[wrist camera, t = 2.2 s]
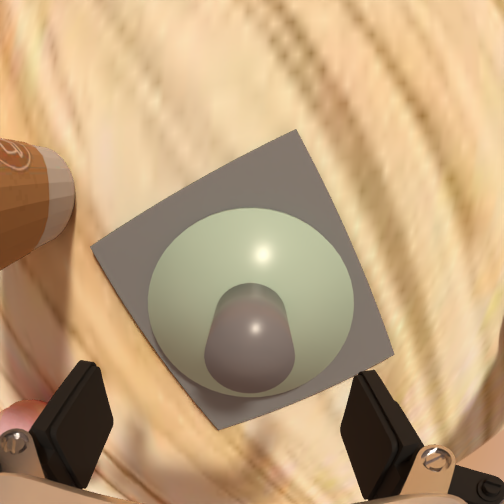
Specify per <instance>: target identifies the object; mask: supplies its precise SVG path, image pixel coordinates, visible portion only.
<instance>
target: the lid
mask: <svg viewBox="0 0 504 504" xmlns="http://www.w3.org/2000/svg"><path fill="white" fill-rule="evenodd" d="M353 311H354V295H353V288H352V283H351V279H350V276H349V274H348V271H347V268H346V266H345V264H344V262H343V260H342V259H341V257H340V255H339V254H338V253H337V251H336V250H335V248H334V247H333V246H332V245H331V244H330V243H329V242H328V241H327V240H326V239H325V238H324V237H323V236H322V235H321V234H320V233H319V232H318V231H317V230H315V229H314V228H313V227H311V226H310V225H309V224H307V223H305V222H304V221H302V220H300V219H298V218H296V217H294V216H292V215H289V214H287V213H284V212H281V211H277V210H272V209H267V208H258V207H243V208H235V209H229V210H224V211H221V212H218V213H215V214H212V215H210V216H207V217H205V218H203V219H201V220H199V221H198V222H196V223H195V224H193V225H191V226H190V227H188V228H187V229H186V230H185V231H184V232H182V233H181V234H180V235H179V236H178V237H177V238H176V239H174V241H173V242H172V243H171V244H170V245H169V246H168V247H167V249H166V250H165V251H164V253H163V254H162V256H161V258H160V259H159V261H158V263H157V265H156V267H155V270H154V272H153V274H152V278H151V282H150V285H149V293H148V313H149V319H150V324H151V327H152V330H153V334H154V336H155V338H156V340H157V342H158V344H159V346H160V348H161V349H162V351H163V352H164V354H165V355H166V357H167V358H168V359H169V360H170V362H171V363H172V364H173V365H174V366H175V367H176V368H177V369H178V370H179V371H180V372H182V373H183V374H184V375H186V376H187V377H188V378H190V379H191V380H193V381H194V382H196V383H198V384H200V385H201V386H204V387H206V388H208V389H210V390H213V391H216V392H219V393H222V394H227V395H232V396H238V397H264V396H272V395H276V394H280V393H284V392H287V391H289V390H292V389H295V388H297V387H299V386H301V385H303V384H305V383H307V382H308V381H310V380H311V379H313V378H314V377H316V376H317V375H318V374H319V373H321V372H322V371H323V370H324V369H325V368H326V367H327V366H328V365H329V364H330V363H331V362H332V361H333V360H334V358H335V357H336V356H337V354H338V353H339V351H340V350H341V348H342V346H343V344H344V343H345V341H346V338H347V336H348V333H349V331H350V327H351V323H352V319H353Z"/></svg>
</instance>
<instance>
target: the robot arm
mask: <svg viewBox="0 0 504 504" xmlns="http://www.w3.org/2000/svg"><path fill="white" fill-rule="evenodd" d="M112 427H113V416H112V412H111V409H110V405H109V402H108V398H107V394H106V390H105V387H104V383H103V378H102V374H101V370H100V368H99V367H97V366H96V364H95V363H94V362H89V361H83V360H80V361H79V362H78V363H77V365H76V366H75V367H74V369H73V370H72V371H71V372H70V374H69V375H68V376H67V378H66V379H65V380H64V382H63V383H62V385H61V386H60V387H59V389H58V390H57V391H56V393H55V394H54V395H53V397H52V398H51V400H50V401H49V402H48V404H47V405H46V406H45V408H44V409H43V411H42V412H41V414H40V415H39V416H38V418H37V419H36V421H35V422H34V424H33V425H32V426H31V429H30V430H29V431H28V432H27V431H25V430H23V429H19V428H15V429H10V430H7V431H5V432H4V433H2V435H1V436H0V504H144V503H138V502H133V501H128V500H123V499H118V498H114V497H109V496H105V495H101V494H97V493H93V492H89V491H86V490H82V489H83V488H84V489H85V488H86V487H87V486H88V483H89V481H90V479H91V476H92V474H93V471H94V469H95V466H96V464H97V462H98V459H99V457H100V455H101V452H102V450H103V448H104V445H105V443H106V441H107V438H108V436H109V434H110V431H111V429H112ZM340 432H341V436H342V439H343V442H344V445H345V448H346V450H347V453H348V456H349V459H350V462H351V464H352V467H353V470H354V473H355V476H356V479H357V482H358V485H359V487H360V490H361V493H362V496H363V498H364V499H365V500H366V499H368V501H365V502H359V503H353V504H504V482H503V481H502V480H501V479H500V478H498V477H496V476H493V475H489V474H486V473H482V472H478V471H474V470H471V469H468V468H465V467H461V466H458V465H455V464H456V459H455V456H454V454H453V453H452V451H451V450H449V449H448V448H447V447H444V446H442V445H436V444H434V445H428V446H425V447H424V445H423V443H422V442H421V440H420V438H419V437H418V435H417V433H416V432H415V430H414V428H413V427H412V425H411V423H410V422H409V420H408V419H407V417H406V415H405V414H404V412H403V410H402V409H401V407H400V406H399V404H398V403H397V402H396V401H394V400H393V398H392V396H391V395H390V393H389V391H388V390H387V388H386V387H385V385H384V383H383V382H382V380H381V379H380V377H379V376H378V374H377V372H376V371H375V370H369V371H360V372H359V373H358V375H356V376H354V378H353V382H352V386H351V390H350V394H349V398H348V401H347V405H346V409H345V412H344V416H343V419H342V423H341V427H340Z"/></svg>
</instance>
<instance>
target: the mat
mask: <svg viewBox="0 0 504 504" xmlns="http://www.w3.org/2000/svg"><path fill="white" fill-rule="evenodd" d="M243 207H258V208H267V209H272V210H277V211H281V212H284V213H287V214H289V215H292V216H294V217H296V218H298V219H300V220H302V221H304V222H305V223H307V224H309V225H310V226H311V227H313V228H314V229H315V230H317V231H318V232H319V233H320V234H321V235H322V236H323V237H324V238H325V239H326V240H327V241H328V242H329V243H330V244H331V245H332V246H333V247H334V248H335V250H336V251H337V253H338V254H339V255H340V257H341V259H342V260H343V262H344V264H345V266H346V268H347V271H348V274H349V276H350V279H351V283H352V288H353V295H354V311H353V319H352V323H351V327H350V331H349V333H348V336H347V338H346V341H345V343H344V344H343V346H342V348H341V350H340V351H339V353H338V354H337V356H336V357H335V358H334V360H333V361H332V362H331V363H330V364H329V365H328V366H327V367H326V368H325V369H324V370H323V371H322V372H321V373H319V374H318V375H317V376H316V377H314V378H313V379H311V380H310V381H308V382H307V383H305V384H303V385H301V386H299V387H297V388H295V389H292V390H289V391H287V392H284V393H280V394H276V395H272V396H264V397H238V396H232V395H227V394H222V393H219V392H216V391H213V390H210V389H208V388H206V387H204V386H201V385H200V384H198V383H196V382H194V381H193V380H191V379H190V378H188V377H187V376H186V375H184V374H183V373H182V372H180V371H179V370H178V369H177V368H176V367H175V366H174V365H173V364H172V363H171V362H170V360H169V359H168V358H167V357H166V355H165V354H164V352H163V351H162V349H161V348H160V346H159V344H158V342H157V340H156V338H155V336H154V334H153V330H152V327H151V324H150V319H149V313H148V293H149V285H150V282H151V278H152V274H153V272H154V270H155V267H156V265H157V263H158V261H159V259H160V258H161V256H162V254H163V253H164V251H165V250H166V249H167V247H168V246H169V245H170V244H171V243H172V242H173V241H174V239H176V238H177V237H178V236H179V235H180V234H181V233H182V232H184V231H185V230H186V229H187V228H188V227H190V226H191V225H193V224H195V223H196V222H198V221H199V220H201V219H203V218H205V217H207V216H210V215H212V214H215V213H218V212H221V211H224V210H229V209H235V208H243ZM90 248H91V249H92V251H93V253H94V255H95V256H96V258H97V260H98V262H99V264H100V265H101V267H102V269H103V270H104V272H105V274H106V275H107V277H108V279H109V281H110V282H111V284H112V285H113V287H114V289H115V290H116V292H117V294H118V295H119V297H120V298H121V300H122V302H123V303H124V305H125V306H126V308H127V309H128V311H129V313H130V314H131V316H132V317H133V319H134V320H135V322H136V323H137V325H138V326H139V328H140V329H141V331H142V332H143V333H144V335H145V336H146V338H147V339H148V341H149V342H150V344H151V345H152V346H153V348H154V349H155V351H156V352H157V353H158V355H159V356H160V358H161V359H162V360H163V362H164V363H165V364H166V366H167V367H168V368H169V370H170V371H171V372H172V374H173V375H174V376H175V378H176V379H177V380H178V382H179V383H180V384H181V385H182V387H183V388H184V389H185V391H186V392H187V393H188V394H189V396H190V397H191V398H192V399H193V401H194V402H195V403H196V404H197V405H198V407H199V408H200V409H201V410H202V411H203V413H204V414H205V415H206V416H207V417H208V419H209V420H210V421H211V422H212V423H213V424H214V426H215V427H216V428H217V429H218V430H220V429H223V428H227V427H230V426H233V425H236V424H239V423H242V422H245V421H247V420H250V419H253V418H256V417H259V416H261V415H264V414H267V413H270V412H272V411H275V410H277V409H280V408H283V407H285V406H288V405H290V404H293V403H295V402H297V401H300V400H302V399H305V398H307V397H309V396H312V395H314V394H316V393H318V392H321V391H323V390H325V389H327V388H329V387H332V386H334V385H336V384H338V383H340V382H342V381H344V380H346V379H348V378H351V377H353V376H355V375H357V374H358V373H359V372H360V371H365V370H366V369H368V368H370V367H372V366H374V365H376V364H378V363H380V362H382V361H384V360H385V359H387V358H389V357H391V356H393V355H394V352H393V349H392V346H391V343H390V340H389V337H388V335H387V332H386V329H385V326H384V323H383V321H382V318H381V315H380V313H379V310H378V307H377V305H376V302H375V299H374V297H373V294H372V292H371V289H370V287H369V284H368V282H367V279H366V277H365V274H364V272H363V269H362V267H361V264H360V262H359V260H358V257H357V255H356V253H355V250H354V248H353V246H352V243H351V241H350V239H349V236H348V234H347V232H346V230H345V227H344V225H343V223H342V221H341V219H340V216H339V214H338V212H337V210H336V208H335V206H334V203H333V201H332V199H331V197H330V195H329V193H328V191H327V189H326V187H325V185H324V183H323V181H322V179H321V177H320V175H319V172H318V170H317V169H316V167H315V165H314V163H313V161H312V159H311V157H310V155H309V153H308V151H307V149H306V147H305V145H304V143H303V141H302V139H301V138H300V136H299V134H298V132H297V130H296V129H295V130H293V131H291V132H289V133H287V134H285V135H283V136H281V137H279V138H277V139H275V140H272V141H270V142H268V143H266V144H264V145H262V146H260V147H259V148H257V149H255V150H253V151H251V152H249V153H247V154H245V155H243V156H241V157H239V158H237V159H235V160H233V161H232V162H230V163H228V164H226V165H224V166H222V167H220V168H219V169H217V170H215V171H213V172H211V173H209V174H208V175H206V176H204V177H202V178H200V179H199V180H197V181H195V182H193V183H192V184H190V185H188V186H186V187H185V188H183V189H181V190H179V191H178V192H176V193H174V194H173V195H171V196H169V197H168V198H166V199H164V200H163V201H161V202H159V203H158V204H156V205H154V206H153V207H151V208H149V209H148V210H146V211H144V212H143V213H141V214H140V215H138V216H136V217H135V218H133V219H132V220H130V221H129V222H127V223H125V224H124V225H122V226H121V227H119V228H118V229H116V230H115V231H113V232H111V233H110V234H108V235H107V236H105V237H104V238H102V239H101V240H99V241H98V242H96V243H95V244H93V245H92V246H90Z"/></svg>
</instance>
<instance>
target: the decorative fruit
mask: <svg viewBox="0 0 504 504" xmlns="http://www.w3.org/2000/svg"><path fill="white" fill-rule="evenodd" d="M46 405H47V403H45V402H42V401H38V400H22V401H18V402H16V403H14V404H12V405H11V406H10V407H8V408H6V409H4V410H3V411H1V412H0V436H1V435H2V433H4V432H5V431H7V430H10V429H15V428H19V429H23V430H25V431H27V432H28V431H29V430H30V429H31V426H32V425H33V424H34V422H35V421H36V419H37V418H38V416H39V415H40V414H41V412H42V411H43V409H44V408H45V406H46Z"/></svg>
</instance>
